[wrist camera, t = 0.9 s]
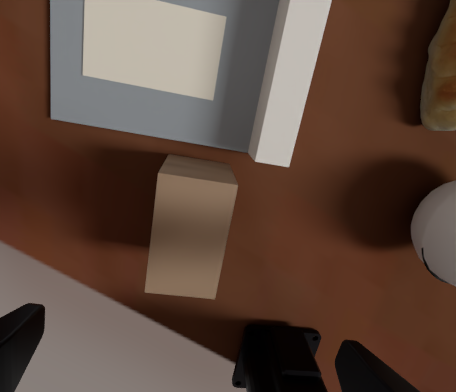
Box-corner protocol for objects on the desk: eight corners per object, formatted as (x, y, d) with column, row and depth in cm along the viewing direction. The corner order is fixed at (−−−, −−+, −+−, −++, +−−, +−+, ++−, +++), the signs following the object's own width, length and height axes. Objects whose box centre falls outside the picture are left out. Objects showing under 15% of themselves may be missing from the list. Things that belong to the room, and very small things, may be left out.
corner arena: (276, 156, 19) (288, 167, 16) (53, 118, 17) (24, 122, 14) (339, -106, 15) (371, -153, 12) (52, -197, 13) (11, -278, 10)
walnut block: (212, 254, 21) (214, 299, 17) (157, 248, 21) (144, 292, 16) (229, 163, 19) (238, 185, 15) (168, 153, 19) (158, 172, 14)
